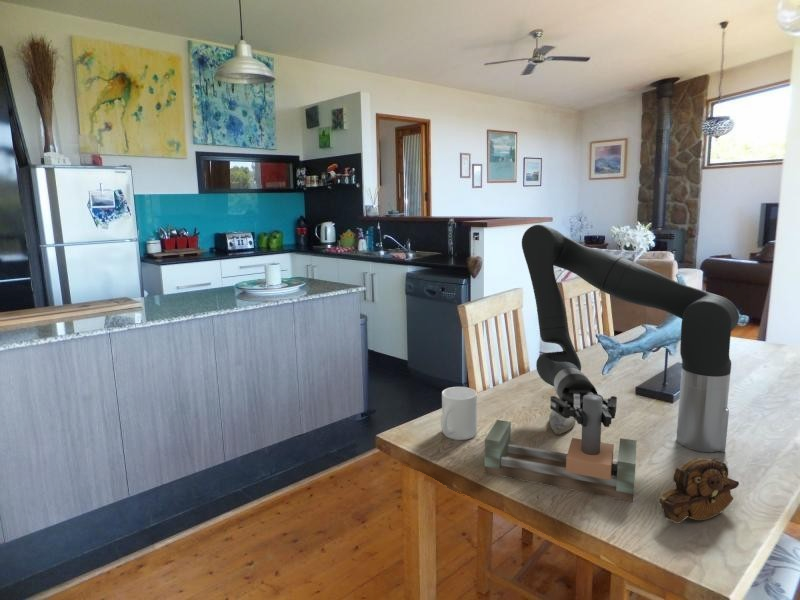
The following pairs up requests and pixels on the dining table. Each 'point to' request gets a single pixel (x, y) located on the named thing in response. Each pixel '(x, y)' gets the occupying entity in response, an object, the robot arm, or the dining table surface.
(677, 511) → the wooden carving
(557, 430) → the decorative stone
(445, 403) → the mug
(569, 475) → the rail bed
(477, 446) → the dining table surface
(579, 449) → the carriage
